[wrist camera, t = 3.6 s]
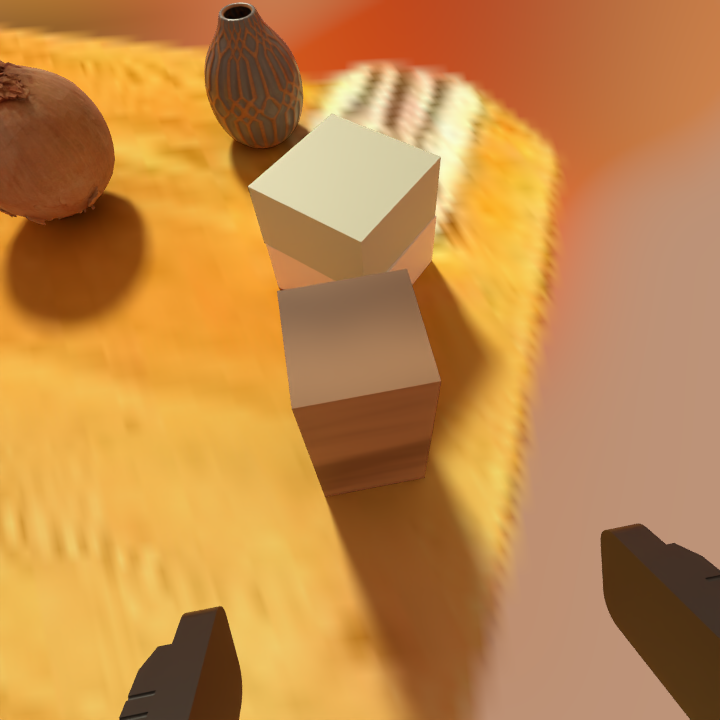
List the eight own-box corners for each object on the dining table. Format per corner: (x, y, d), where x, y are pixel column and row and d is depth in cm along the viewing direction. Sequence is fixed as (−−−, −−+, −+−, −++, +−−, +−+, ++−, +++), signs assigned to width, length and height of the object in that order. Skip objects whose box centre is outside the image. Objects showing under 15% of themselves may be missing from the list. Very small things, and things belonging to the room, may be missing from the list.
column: (424, 477, 26) (441, 381, 17) (325, 497, 25) (291, 409, 17) (401, 390, 28) (406, 268, 20) (311, 407, 28) (277, 291, 19)
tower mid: (364, 296, 27) (361, 242, 23) (264, 243, 29) (247, 186, 26) (434, 216, 30) (440, 156, 26) (338, 173, 32) (331, 113, 29)
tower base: (371, 339, 30) (368, 296, 27) (279, 289, 33) (266, 244, 29) (431, 262, 33) (436, 215, 30) (343, 221, 35) (338, 173, 32)
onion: (163, 176, 38) (98, 35, 30) (86, 267, 34) (-17, 132, 25) (62, 152, 41) (-26, 13, 32) (-23, 234, 36) (-150, 99, 28)
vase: (306, 159, 39) (286, 36, 31) (216, 163, 39) (174, 42, 31) (310, 104, 42) (293, -18, 35) (227, 108, 43) (192, -12, 35)
